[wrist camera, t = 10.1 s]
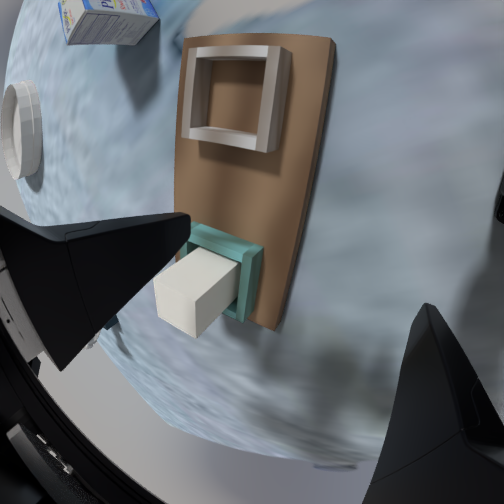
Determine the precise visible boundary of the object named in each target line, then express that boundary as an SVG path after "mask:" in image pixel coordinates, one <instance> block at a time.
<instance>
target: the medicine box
mask: <svg viewBox="0 0 504 504" xmlns="http://www.w3.org/2000/svg"><path fill="white" fill-rule="evenodd" d="M58 7H59V12H60V17H61V22H62V27H63V31H64V35H65V40H66V44H67V45H88V44H116V45H136V44H137V43H138V42H139V40H140V39H141V38H142V37H143V36H144V35H145V34H146V33H147V31H148V30H149V29H150V28H151V27H152V26H153V25H154V24H155V23H156V22H157V21H158V20H159V17H158V15H157V13H156V12H155V10H154V8H153V6H152V5H151V3H150V1H149V0H59V3H58Z"/></svg>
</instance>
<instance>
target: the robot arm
mask: <svg viewBox="0 0 504 504" xmlns="http://www.w3.org/2000/svg"><path fill="white" fill-rule="evenodd" d="M500 192H501V195H500V198H499V201H498V204H497V207H496V210H495V217H496V219H497V220H498V221H499V222H501V223H503V224H504V178H503V181H502V184H501V188H500ZM500 212H503V215H502V216H501V217H499V213H500ZM190 236H191V217H190V215H189V214H186V213H183V212H174V213H163V214H153V215H143V216H134V217H125V218H117V219H108V220H102V221H92V222H84V223H75V224H65V225H55V226H37V225H34V224H32V223H30V222H28V221H26V220H24V219H23V218H21V217H19V216H17V215H15V214H14V213H12V212H10V211H9V210H7V209H5V208H4V207H2V206H0V504H167V503H166V502H164V501H163V500H161V499H160V498H158V497H157V496H156V495H154V494H153V493H151V492H150V491H149V490H147V489H146V488H145V487H143V486H142V485H141V484H139V483H138V482H137V481H135V480H134V479H133V478H132V477H130V476H129V475H128V474H127V473H126V472H124V471H123V470H122V469H121V468H119V467H118V466H117V465H116V464H115V463H114V462H112V461H111V460H110V459H109V458H108V457H107V456H106V455H105V454H104V453H103V452H102V451H101V450H100V449H99V448H97V447H96V446H95V445H94V444H93V443H92V442H91V441H90V440H89V439H88V438H87V437H86V435H85V434H84V433H83V432H82V431H81V430H80V429H79V428H78V427H77V426H76V425H75V424H74V423H73V422H72V420H71V419H70V418H69V417H68V416H67V415H66V414H65V412H64V411H63V410H62V409H61V408H60V406H59V405H58V404H57V403H56V402H55V400H54V399H53V398H52V396H51V395H50V394H49V393H48V391H47V390H46V389H45V387H44V386H43V385H42V383H41V382H40V380H39V379H38V374H39V369H40V364H41V362H40V360H39V359H38V357H37V355H38V354H40V353H41V352H42V351H44V352H45V353H46V354H47V356H48V357H49V358H50V360H51V361H52V362H53V363H54V365H55V366H56V367H57V368H58V370H59V371H62V370H63V369H65V368H66V366H67V365H68V364H69V363H70V362H71V361H72V360H73V359H74V358H75V357H76V355H77V354H78V353H79V352H80V351H81V350H82V349H83V348H84V347H85V346H86V345H87V344H88V343H89V342H90V341H91V340H92V338H93V337H94V336H95V334H97V333H98V332H99V331H100V330H101V329H102V328H103V327H104V326H105V325H106V324H107V323H108V322H109V321H110V320H111V319H112V318H113V317H114V316H115V315H116V314H117V313H118V312H119V311H120V310H121V309H122V308H123V307H124V306H125V305H126V304H127V303H128V302H129V301H130V300H131V299H132V298H133V297H134V296H135V295H136V294H137V293H138V292H139V291H140V290H141V289H142V288H143V287H144V286H145V285H146V284H147V283H148V282H149V281H150V280H151V279H152V278H153V277H154V276H155V275H156V274H157V273H158V272H159V271H161V270H162V269H163V268H164V267H165V266H166V265H167V264H168V262H169V261H170V260H171V259H172V258H173V257H174V256H175V255H176V253H177V252H178V251H179V250H180V249H181V248H182V247H183V245H184V244H185V243H186V242H187V241H188V240H189V238H190ZM477 378H478V376H477V374H476V372H475V370H474V369H473V367H472V365H471V363H470V361H469V360H468V358H467V356H466V354H465V353H464V351H463V349H462V347H461V346H460V344H459V342H458V341H457V339H456V337H455V336H454V334H453V333H452V331H451V329H450V328H449V326H448V325H447V323H446V322H445V320H444V318H443V317H442V315H441V314H440V312H439V311H438V309H437V308H436V307H435V306H434V305H431V304H429V303H424V304H423V305H422V307H421V309H420V310H419V312H418V314H417V316H416V317H415V319H414V321H413V323H412V325H411V329H410V333H409V337H408V342H407V346H406V350H405V353H404V357H403V361H402V365H401V370H400V376H399V381H398V386H397V391H396V396H395V401H394V405H393V410H392V414H391V418H390V422H389V426H388V430H387V433H386V437H385V441H384V444H383V447H382V451H381V454H380V457H379V460H378V463H377V466H376V469H375V472H374V475H373V477H372V480H371V483H370V485H369V488H368V490H367V493H366V495H365V497H364V500H363V502H362V504H504V425H503V423H502V421H501V419H500V417H499V416H498V414H497V412H496V410H495V408H494V406H493V405H492V403H491V401H490V399H489V397H488V395H487V393H486V391H485V390H484V388H483V386H482V384H481V382H480V380H479V379H477ZM37 434H38V435H39V436H40V437H41V438H42V439H43V440H44V441H45V442H46V444H44V443H43V442H42V441H41V440H40V439H39V438H38V437H37V436H36V435H37ZM49 451H53V452H54V453H55V454H56V455H57V456H56V458H57V459H58V460H59V461H58V460H57V459H56V458H55V457H53V456H52V455H51V454H50V453H49ZM62 463H63V464H64V465H65V466H67V470H68V471H69V474H68V473H67V472H65V471H64V470H63V469H64V468H65V467H64V465H63V464H62Z"/></svg>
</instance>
